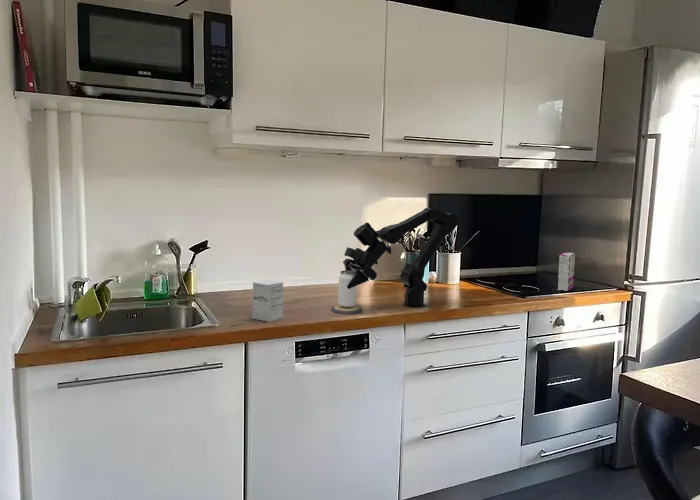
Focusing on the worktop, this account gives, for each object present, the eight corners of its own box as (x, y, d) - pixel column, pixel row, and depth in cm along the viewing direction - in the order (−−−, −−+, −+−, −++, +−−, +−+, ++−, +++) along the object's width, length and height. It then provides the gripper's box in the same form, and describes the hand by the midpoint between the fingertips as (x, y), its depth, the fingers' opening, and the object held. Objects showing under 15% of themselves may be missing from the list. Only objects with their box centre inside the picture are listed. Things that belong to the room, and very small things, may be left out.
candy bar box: (561, 287, 261) (564, 252, 259) (573, 288, 258) (575, 253, 256) (556, 291, 252) (558, 254, 250) (568, 292, 249) (570, 255, 247)
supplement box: (251, 319, 190) (251, 281, 189) (266, 315, 196) (267, 279, 195) (268, 322, 186) (268, 284, 185) (283, 318, 192) (283, 281, 191)
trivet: (354, 306, 213) (354, 303, 213) (366, 312, 203) (366, 309, 203) (327, 308, 209) (327, 305, 209) (338, 315, 199) (338, 311, 198)
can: (341, 301, 210) (343, 269, 208) (358, 303, 208) (359, 271, 206) (335, 305, 204) (336, 272, 202) (352, 308, 202) (353, 275, 200)
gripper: (348, 237, 213) (320, 267, 210) (369, 242, 196) (339, 275, 193) (366, 256, 217) (339, 287, 214) (389, 263, 200) (360, 296, 197)
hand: (344, 286), depth 204 cm, fingers closed on can, 6 cm apart
